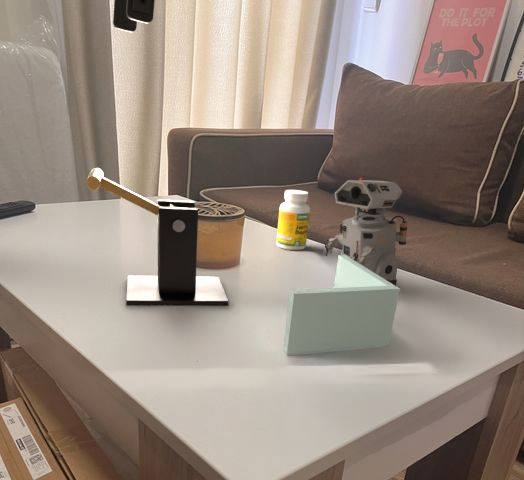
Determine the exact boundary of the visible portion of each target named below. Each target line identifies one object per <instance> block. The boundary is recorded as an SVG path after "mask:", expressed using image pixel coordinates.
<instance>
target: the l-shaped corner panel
mask: <svg viewBox="0 0 524 480" xmlns="http://www.w3.org/2000/svg"><path fill="white" fill-rule="evenodd" d="M400 292H401V288H400V287H398V286H397V285H396V286H395V285H393V284H392V283H390V282H388V281H387V280H385V279H383V278H382V277H380V276H379V275H377V274H375V273H374V272H372V271H370V270H369V269H367V268H366V267H364V266H362V265H361V264H359V263H357V262H356V261H354V260H353V259H351V258H349V257H348V256H346V255H341V254H338V257H337V263H336V268H335V275H334V281H333V287H326V288H325V287H324V288H302V289H301V288H300V289H290V290H289V294H288V304H287V311H286V319H285V327H284V337H283V345H282V352H283V353H284V355H286V356H297V355H298V356H299V355H308V354H318V353H319V354H320V353H329V352H341V351H350V350H351V351H352V350H361V349H372V348H385V347H389V342H390V337H391V334H392V330H393V324H394V320H395V315H396V310H397V305H398V301H399V296H400Z"/></svg>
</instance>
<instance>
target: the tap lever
mask: <svg viewBox="0 0 524 480" xmlns="http://www.w3.org/2000/svg"><path fill="white" fill-rule="evenodd" d="M85 183H86V184H85V185H86V186H87V188H88V189H89V190H92V191H97V190H98V189H100V188H101V189H103V190H105V191H108V192H109V193H112V194H114V195H115V196H117V197H120V198H121V199H124V200H125V201H127V202H129V203H131V204H133V205H136V206H137V207H140V208H142V209H143V210H145V211H148V212H150V213H151V214H154V215H156V216H157V217H158V216H159V207H162V206H160V205H158V203H155V201H154V202H153V200H150V199H148V198H146V197H144V196H142V195H140V194H138V193H136V192H134V191H132V190H130V189H128V188H126V187H124V186H123V185H120V184H118V183H116V182H115V181H113V180H111V179H108V178H106V177H104V171H103V170H102V169H101V168H99V167H93V168H92V169H91V171H90V173H89V174H88V176H87V179H86V181H85ZM169 207H176V206H174V205H172V204H170V205H169Z"/></svg>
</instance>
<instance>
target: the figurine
mask: <svg viewBox="0 0 524 480" xmlns="http://www.w3.org/2000/svg"><path fill="white" fill-rule="evenodd" d="M402 194H403V191H402V189H401V188H400V186H399V185H398V184H397V183H396V182H394V181H386V180H371V179H370V180H369V179H368V180H367V179H366V180H365V177H360V178H359V179H347V180H346V181H345V182H344V183H343V184H342V185H341V186H340V187H338V189H337V190H336V191H335V192H334V199H335V204H339V205H344V206H350V207H353V210H354V211H355V212H354V216H353V217H350V218H346V219H344V220H343V221H340V223H339V233H338V234H337V235H336V236H335V237H331V238H329V239H328V243H324V248H325V257H327V256H328V253H330V254H332V252H333V249H334V248H336V246H337V244H341V245H342V248H341V253H340V255H346V256H348V257H349V258H351V259H353V260H354V261H356V262H357V263H359V264H361V265H362V266H364V267H366V268H367V269H369V270H370V271H372V272H374V273H375V274H377V275H379V276H380V277H382V278H383V279H385V280H387V281H388V282H390V283H392V284H393V285H395V286H396V287H397V282H398V280H397V274H398V273H397V272H398V259H397V256H396V250H397V249H396V243H398V245H400V246H405V245H406V244H407V232H408V221H406V220H405V218H404V217H403V216H402V215H396V216H394V217H392V218H391V217H388V216H385V214H386V212H387V210H386V209H392V208H393V206H394V205H395V203H396V201H397V200H399V198H400V197H401V196H402ZM397 218H401V220H402V221H400V224H399V225H400V226H399V231H397V225H398V224H397V222H398V220H397Z"/></svg>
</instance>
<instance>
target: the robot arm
mask: <svg viewBox="0 0 524 480" xmlns="http://www.w3.org/2000/svg"><path fill="white" fill-rule="evenodd" d="M155 1H156V0H114V1H113V16H112V25H113V27H114V28H115V29H116V30H119V31H123V32H128V33H133V32H135V31H136V30H137V27H138V22H139V23H142V24H150V23H151V22H152V21H153V20H154V13H155V10H154V9H155Z"/></svg>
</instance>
